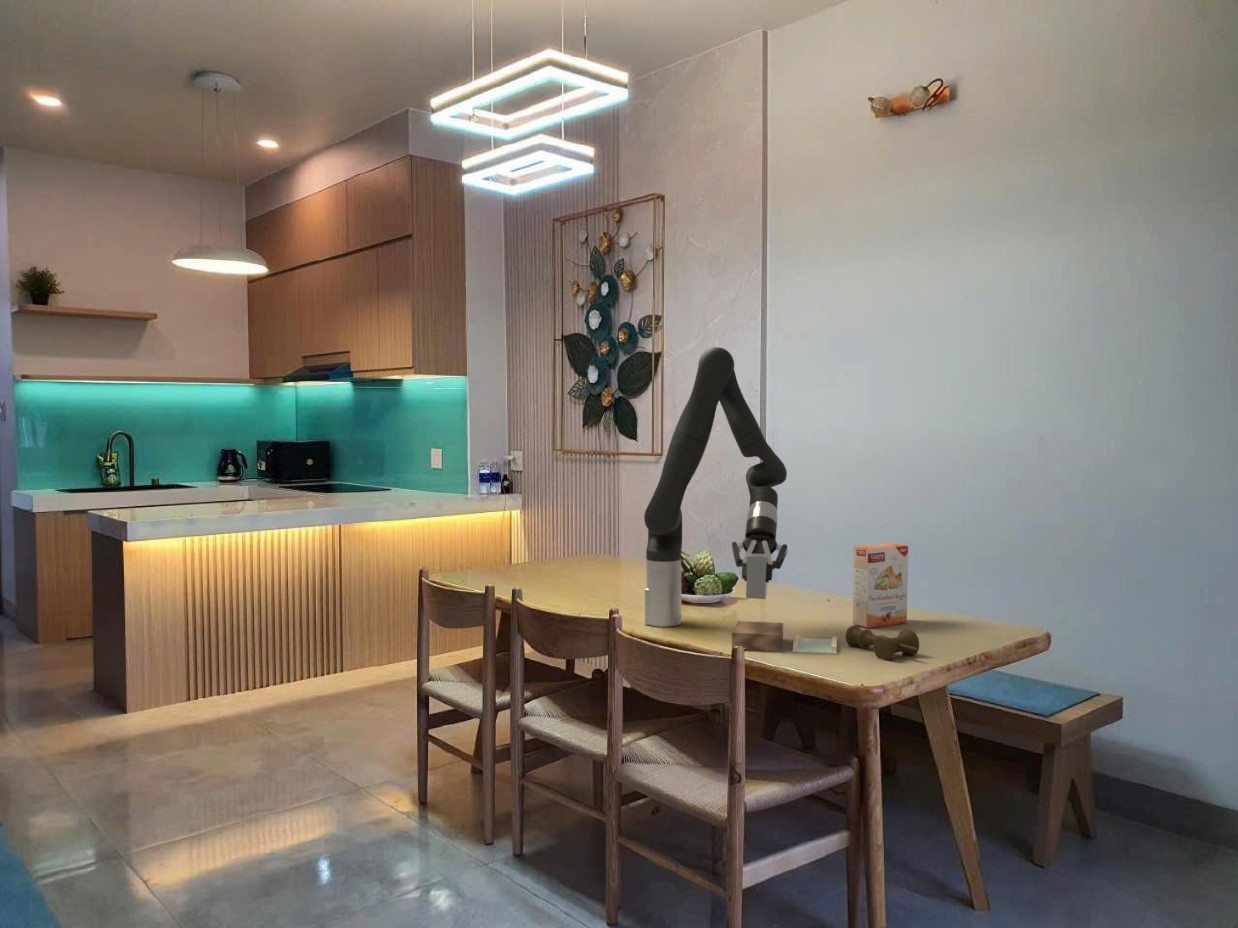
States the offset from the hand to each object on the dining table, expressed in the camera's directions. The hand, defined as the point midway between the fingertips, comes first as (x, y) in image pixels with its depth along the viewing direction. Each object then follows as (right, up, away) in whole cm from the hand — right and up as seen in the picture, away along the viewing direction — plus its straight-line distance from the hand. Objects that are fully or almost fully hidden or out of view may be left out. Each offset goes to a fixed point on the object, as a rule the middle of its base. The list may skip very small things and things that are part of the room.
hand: (756, 579), depth 222 cm
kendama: (+28, -16, -8) cm, 33 cm away
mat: (+14, -16, -1) cm, 21 cm away
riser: (+1, -16, +2) cm, 16 cm away
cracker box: (+36, -15, +23) cm, 45 cm away
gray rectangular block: (0, -4, +2) cm, 5 cm away
